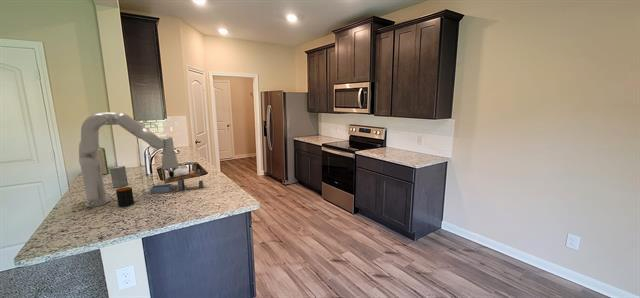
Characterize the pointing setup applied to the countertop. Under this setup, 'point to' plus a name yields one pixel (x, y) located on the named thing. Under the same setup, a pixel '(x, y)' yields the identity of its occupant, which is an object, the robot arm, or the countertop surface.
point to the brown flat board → (182, 177)
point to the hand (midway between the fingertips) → (171, 176)
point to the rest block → (200, 184)
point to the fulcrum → (181, 186)
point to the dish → (160, 188)
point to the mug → (125, 197)
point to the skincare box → (118, 176)
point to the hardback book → (103, 161)
